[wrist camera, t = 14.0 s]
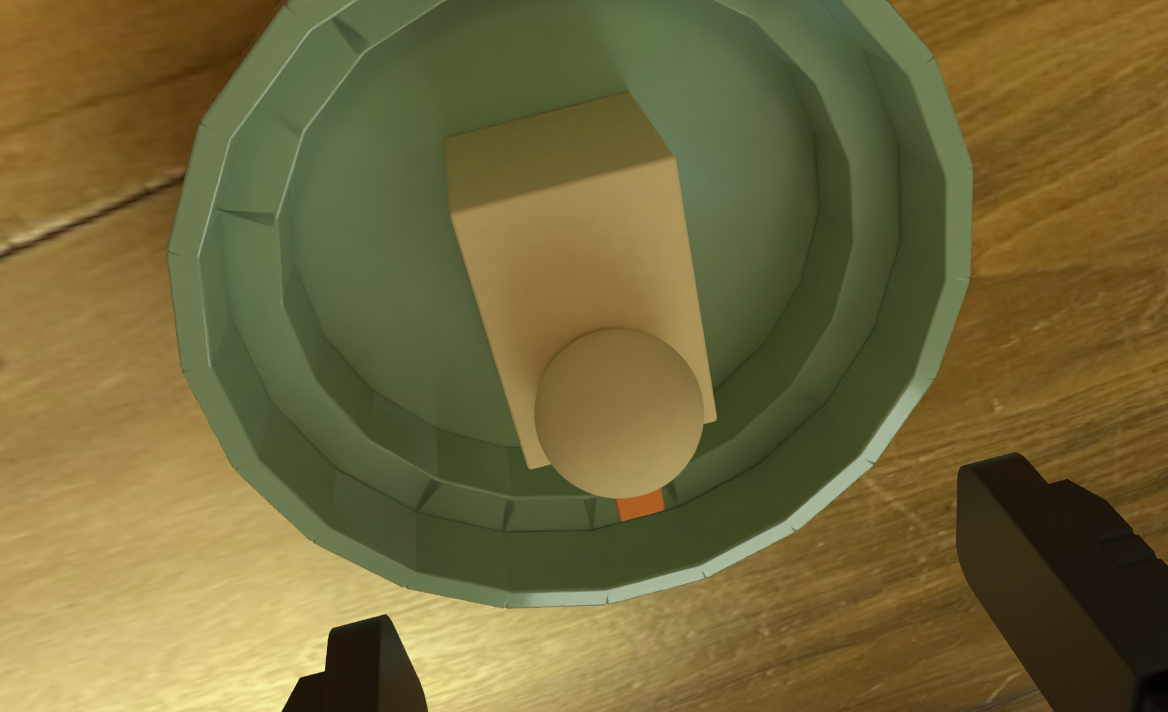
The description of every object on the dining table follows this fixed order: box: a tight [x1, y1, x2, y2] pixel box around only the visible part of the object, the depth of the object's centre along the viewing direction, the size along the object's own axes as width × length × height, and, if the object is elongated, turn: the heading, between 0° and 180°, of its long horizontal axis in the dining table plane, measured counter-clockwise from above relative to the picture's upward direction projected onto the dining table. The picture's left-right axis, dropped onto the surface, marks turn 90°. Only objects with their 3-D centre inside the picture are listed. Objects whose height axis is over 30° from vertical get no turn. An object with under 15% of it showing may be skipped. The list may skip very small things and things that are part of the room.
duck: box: [444, 92, 717, 521], centre depth 20 cm, size 7×4×7 cm, turn 12°
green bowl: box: [166, 0, 973, 609], centre depth 22 cm, size 16×16×5 cm
